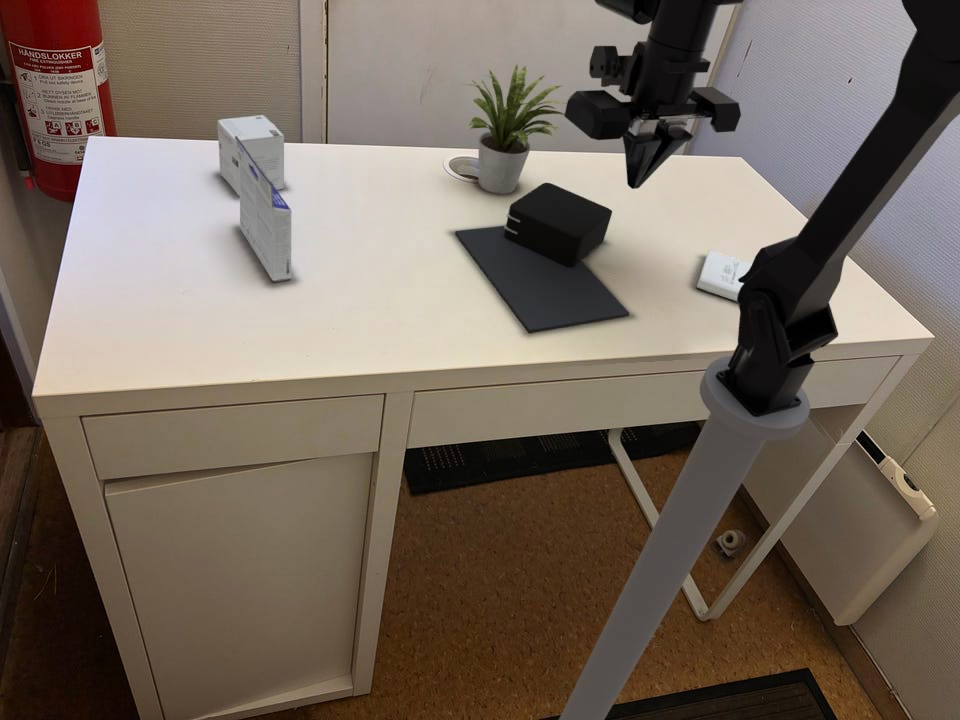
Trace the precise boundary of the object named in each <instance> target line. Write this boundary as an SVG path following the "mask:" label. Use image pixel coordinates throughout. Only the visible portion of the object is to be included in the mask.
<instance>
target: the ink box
mask: <svg viewBox="0 0 960 720" xmlns="http://www.w3.org/2000/svg"><path fill="white" fill-rule="evenodd" d="M235 139H236V144H237V151H238V158H239V167H240V196H239V229H240V231H241V232H242V234H243V235H244V237H245V239H246V240H247V242H248V244H249V246H250V247H251V248H252V250H253V251H254V253H255V255H256V256H257V258H258V260H259V261H260V263H261V265H262V267H263V268H264V269H265V271H266V273H267V274H268V276H269V278H270V279H271V281H273V282H281V281H282V282H283V281H287V280H291V279H292V209H291V207H289V205H288V204H287V202H286V201H285V200H284V198H283V197H282V196H281V194H280V193H279V191H278V190H276V189H275V187H274V186H273V185H274V183H273V182H271V181H270V180H269V179H268V177H267V176H266V175H265V173H264V172H263V171H262V169H261V168H260V166H259V165H258V163H257V162H256V161H254V159H253V158H252V156H251V155H250V153H249V152H248V151H247V149H246V148H245V147H244V145H243V144H242V142H241V141H240V140H239V138H238V137H237V136H235Z"/></svg>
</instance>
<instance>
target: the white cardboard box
mask: <svg viewBox="0 0 960 720" xmlns="http://www.w3.org/2000/svg"><path fill="white" fill-rule="evenodd" d="M216 122H217V138H218V140H217V141H218V158H219V174H220V176H221V177H222V178H223V179H224V180H225V181H226V182H227V183H228V185H230V187H231V188H232V189H233V190H234V192H235V193H236V194H237V196H239V197H240V167H239V158H238V151H237V144H236V139H235V136H237V137H238V138H239V140H240V141H241V142H242V144H243V145H244V147H245V148H246V149H247V151H248V152H249V153H250V155H251V156H252V158H253V159H254V161H256V162H257V163H258V165H259V166H260V168H261V169H262V171H263V172H264V173H265V175H266V176H267V177H268V179H269V180H270V181H271V182H273V183H274V185H273V186H274V187H275V189H276V190H277V191H278V190H284V189H285V134H283V133H282V132H281V131H280V130H279V129H278V128H277V126H276V125H275V124H274V123H273V122H271V120H270V119H268V118H267V117H266V116H265V115H264V114H260V115H252V116H244V117H243V116H242V117H231V118H223V119H222V118H221V119H218V120H217V121H216Z"/></svg>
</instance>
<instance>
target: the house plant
mask: <svg viewBox="0 0 960 720" xmlns="http://www.w3.org/2000/svg"><path fill="white" fill-rule="evenodd" d="M518 64H519V63H516V65H515V67H514V70H513V72H512V75H511V79H510V84H509V89H508V94H507V97H506V105H505V104H504V97H503V91H502V88H501V85H500V82H499V80H498V79H497V77H496V76H495V74H494V73H493V72H492V70H490V69H488V72H489V75H490V76H489V75H488V74H485V76H486V77H488V78H490V79H491V82H492V87H493V91H494V94H495V101H496V105H495V101H494V98H493V96H492V94H491V92H490V90H489V89H488V87H487V85H486V83H485V82H484V80H482V79H480V78H479V77H477V79H478V80H479V82H481V83H482V84H483V86H484V88H485V89H486V90H484V89H483V88H482V87H481V85H479V84H478V83H477V82H475V80H473V79H471V81H472V82H473V84H470V83H466V84H465V83H464V84H463V83H461V86H462V85H463V86H471V87H476V88H477V89H478V91H479V92H480V94H481V95H482V96H483V98H479V97H478V98H477V97H476V98H473V103H475V104H476V105H477V106H478V107H479V108H480V109H481V110H482V111H483V112H484V113H485V114H486V116H487V118H488V119H489V121H490V124H491V125H490V124H488V123H487V122H486V121H485V120H484V119H483V118H480V117H477V116H475V117H473V118H472V119H471V121H470V123H469V125H468V127H470V126H471V127H470V128H469V130H468V131H470V130H473V129H481V128H482V129H484V128H485V129H488V130H489V131H486V132H483V133H481V134H480V135H479V136H478V185H479V186H480V188H482V189H483V190H485V191H487V192H489V193H493V194H498V195H499V194H500V195H506V194H510V193H513V192H514V191H515V189H516V188H517V184H518V182H519V180H520V176H521V175H522V171H523V169H524V166H525V163H526V161H527V159H528V157H529V153H530V151H531V144H530V142H529V137H528V136H529V135H532V134H533V133H534V134H535V133H536V134H545V135H549V136H552V137H554V135H553V133H552V132H551V130H550V129H548V128H552V129H554V130H555V131H557V129H559V127H557V126H555V125H553V124H552V123H551V122H549V121H548V120H543V119H542V120H540V119H539V120H534V121H532V120H533V119H534V118H536V117H539V116H541V115H542V116H543V115H562V116H564V115H565V112H561V111H558V110H556V109H557V108H555V107H554V106H552V105H547V104H562V105H567V102H563V101H557V100H546V101H543V100H544V99H545V98H546V97H547V96H548V95H549V94H550V93H551V92H553V91H555V90H557V89H559V88H561V87H562V85H554V86H551V87H548V88H546V89H544V90H543V91H541V92H540V93H539V94H537V95H536V96H534V97H533V98H532V99H530V100H529V101H528V102H525V100H526V99H527V97H528V96H529V95H530V94H531V92H532V91H533V90H534V88H535V87H536V86H537V85H538V84H539V83H540V82H541V81H542V80H543V78H544V77H545V76H546V74H543V75H542V76H540V77H539V78H537V79H536V80H534V81H533V82H532V83H531V84H530V85H528V86H527V87H526V74H527V65H526V66H523V67H522V68H521V69H520V70H519V72H518V69H519V67H518V66H519V65H518ZM525 87H526V88H525ZM541 101H542V102H541ZM524 102H525V103H524ZM544 104H545V105H544ZM523 105H525V106H524V107H523V109H521V112H519V111H520V108H521V107H522V106H523ZM540 105H541V106H540ZM536 106H538V107H537V108H535V109H533V108H534V107H536ZM545 108H550V109H545ZM518 112H519V113H518ZM530 121H531V122H530ZM535 125H542V126H537V127H532V126H535ZM530 127H531V128H530Z"/></svg>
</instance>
